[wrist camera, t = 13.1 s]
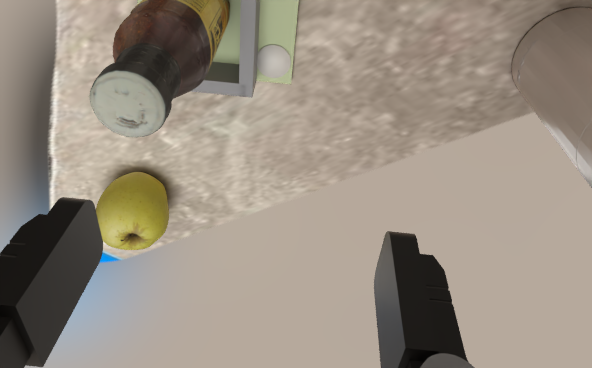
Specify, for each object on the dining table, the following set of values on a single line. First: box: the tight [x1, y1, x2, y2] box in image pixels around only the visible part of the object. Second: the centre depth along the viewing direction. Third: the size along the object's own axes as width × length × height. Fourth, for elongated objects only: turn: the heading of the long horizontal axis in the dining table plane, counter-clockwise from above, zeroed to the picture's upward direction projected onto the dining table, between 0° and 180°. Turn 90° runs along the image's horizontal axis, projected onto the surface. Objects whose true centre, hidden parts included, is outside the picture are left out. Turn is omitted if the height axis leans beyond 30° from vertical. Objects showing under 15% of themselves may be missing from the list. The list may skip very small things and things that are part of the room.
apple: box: [96, 172, 169, 250], centre depth 52 cm, size 8×8×10 cm
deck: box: [137, 0, 299, 97], centre depth 40 cm, size 14×14×5 cm
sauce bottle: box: [90, 0, 230, 137], centre depth 33 cm, size 7×6×20 cm
